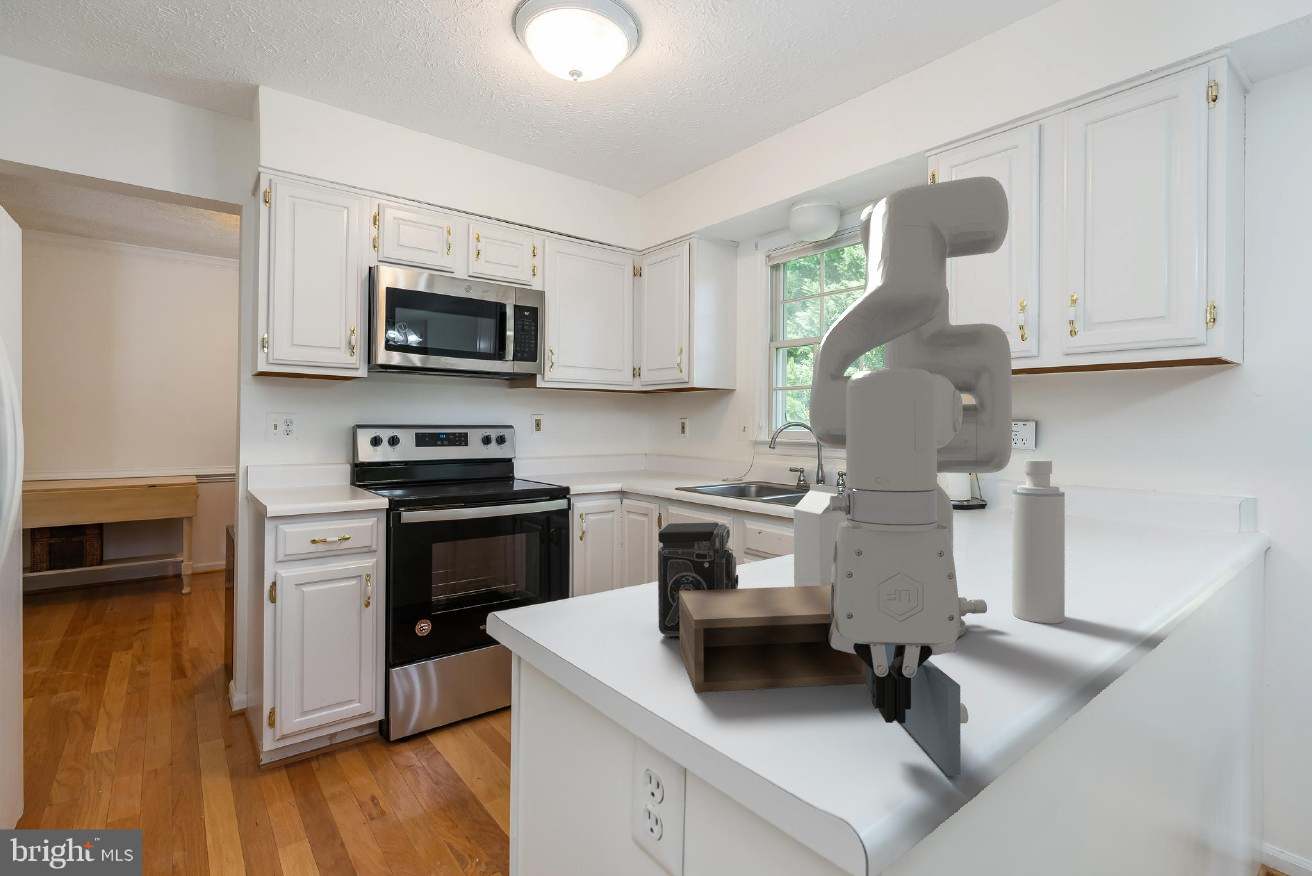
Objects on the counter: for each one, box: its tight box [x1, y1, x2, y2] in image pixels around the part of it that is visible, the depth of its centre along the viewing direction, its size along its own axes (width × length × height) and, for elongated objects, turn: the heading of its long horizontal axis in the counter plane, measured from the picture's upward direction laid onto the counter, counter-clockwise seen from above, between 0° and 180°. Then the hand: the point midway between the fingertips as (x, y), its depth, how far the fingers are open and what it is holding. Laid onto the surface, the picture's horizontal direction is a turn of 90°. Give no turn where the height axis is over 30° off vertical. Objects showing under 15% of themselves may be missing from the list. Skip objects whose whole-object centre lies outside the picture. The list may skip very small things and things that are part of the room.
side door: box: [865, 645, 969, 777], centre depth 61 cm, size 18×2×7 cm, turn 2°
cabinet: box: [679, 585, 866, 693], centre depth 76 cm, size 20×12×8 cm, turn 96°
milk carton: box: [793, 483, 847, 587], centre depth 104 cm, size 7×7×19 cm
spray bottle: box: [1011, 459, 1066, 625], centre depth 94 cm, size 7×7×25 cm
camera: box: [657, 522, 739, 638], centre depth 89 cm, size 10×10×15 cm
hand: (891, 715), depth 56 cm, fingers closed
